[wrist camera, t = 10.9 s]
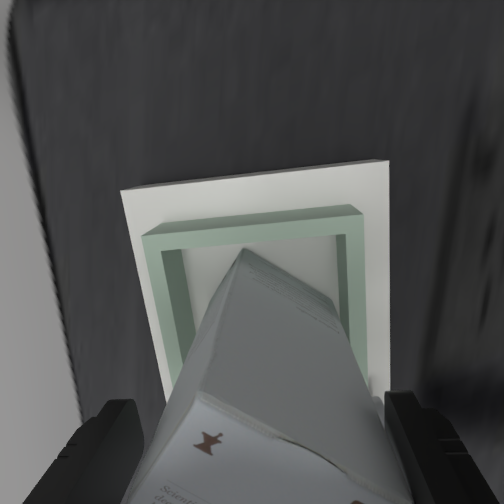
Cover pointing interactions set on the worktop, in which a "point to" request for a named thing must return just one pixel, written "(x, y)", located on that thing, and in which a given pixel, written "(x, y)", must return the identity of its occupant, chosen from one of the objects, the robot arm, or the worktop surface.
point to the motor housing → (275, 242)
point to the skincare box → (269, 406)
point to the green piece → (247, 231)
